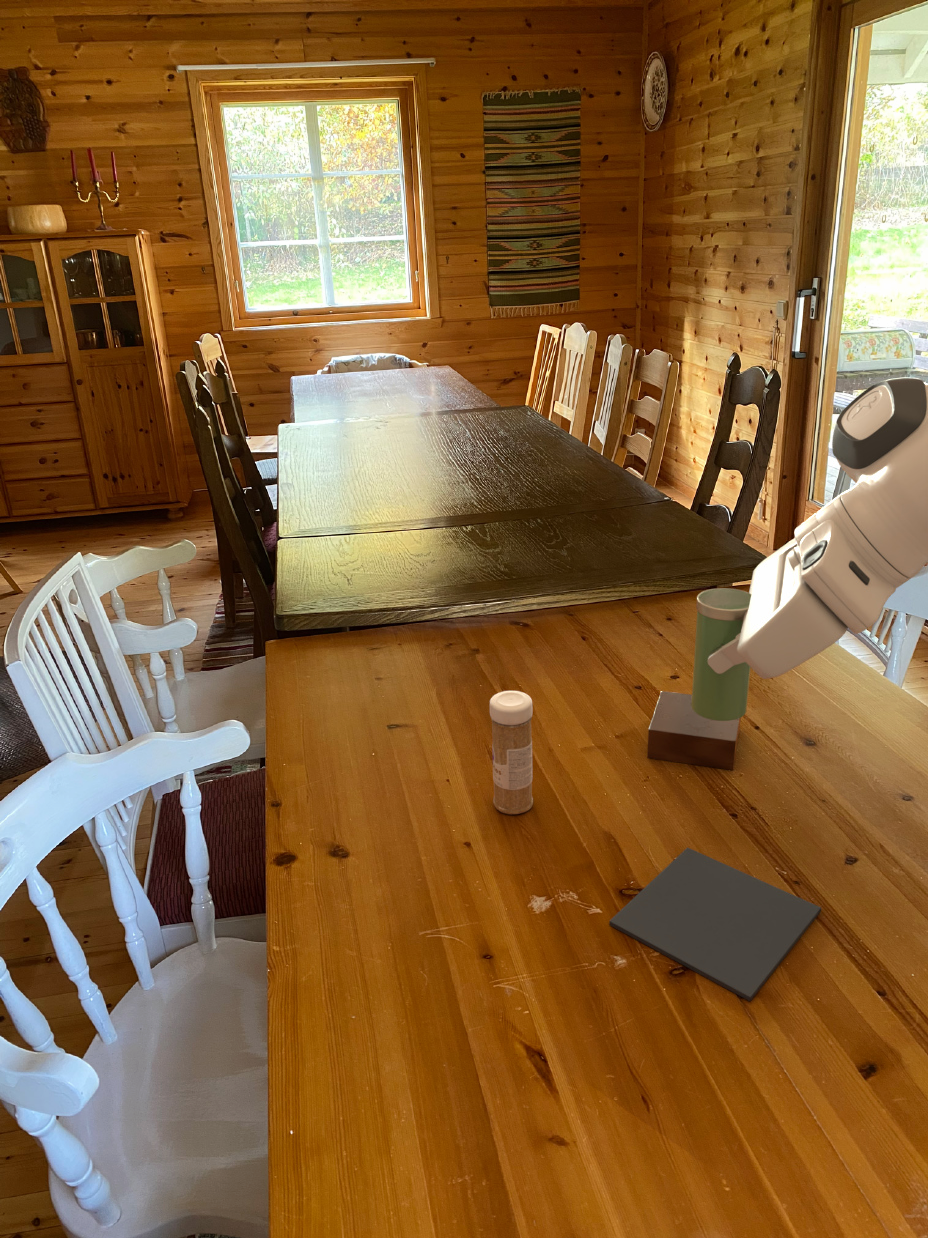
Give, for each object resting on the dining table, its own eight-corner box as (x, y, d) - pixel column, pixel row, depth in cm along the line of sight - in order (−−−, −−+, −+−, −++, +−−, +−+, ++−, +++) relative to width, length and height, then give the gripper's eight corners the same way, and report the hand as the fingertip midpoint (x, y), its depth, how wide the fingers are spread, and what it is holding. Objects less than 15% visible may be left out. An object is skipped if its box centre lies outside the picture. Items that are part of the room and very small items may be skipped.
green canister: (757, 705, 85) (768, 596, 81) (730, 727, 82) (740, 615, 78) (707, 689, 89) (715, 583, 84) (679, 709, 85) (685, 601, 81)
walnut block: (739, 728, 115) (742, 700, 114) (733, 770, 107) (735, 741, 105) (659, 718, 119) (661, 690, 117) (647, 758, 110) (648, 729, 108)
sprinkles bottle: (488, 797, 104) (484, 692, 99) (526, 789, 105) (524, 686, 100) (499, 820, 100) (496, 712, 95) (539, 812, 101) (538, 705, 96)
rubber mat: (821, 911, 85) (821, 907, 85) (750, 1002, 76) (750, 997, 75) (687, 851, 94) (687, 847, 94) (609, 925, 85) (609, 921, 84)
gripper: (821, 495, 85) (706, 584, 92) (818, 571, 67) (677, 674, 74) (866, 544, 85) (748, 629, 92) (876, 632, 68) (729, 729, 75)
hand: (716, 650), depth 83 cm, fingers closed on green canister, 5 cm apart
